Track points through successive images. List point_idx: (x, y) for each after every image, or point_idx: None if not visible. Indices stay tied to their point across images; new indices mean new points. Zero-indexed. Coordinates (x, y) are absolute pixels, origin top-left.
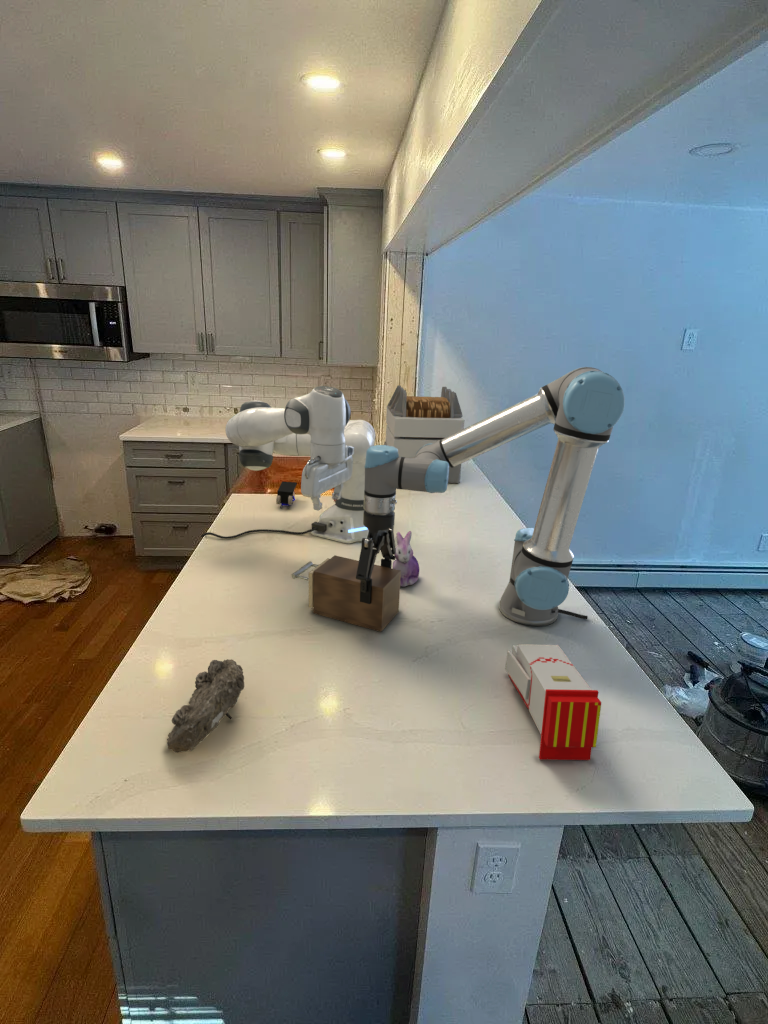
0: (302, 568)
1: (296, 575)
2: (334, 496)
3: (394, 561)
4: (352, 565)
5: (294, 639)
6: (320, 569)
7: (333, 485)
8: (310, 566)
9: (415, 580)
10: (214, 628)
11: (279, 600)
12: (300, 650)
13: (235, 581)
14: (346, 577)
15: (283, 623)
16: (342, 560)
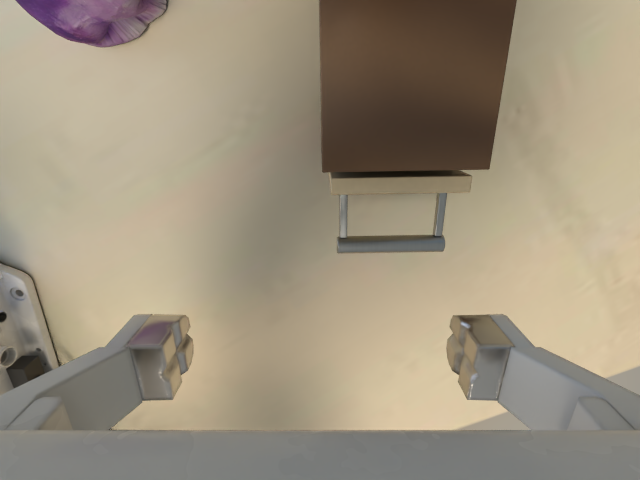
0: (394, 244)
1: (437, 236)
2: (177, 359)
3: (80, 26)
4: (378, 51)
5: (564, 122)
6: (466, 153)
7: (328, 465)
8: (353, 236)
9: None
10: (565, 297)
11: (408, 254)
12: (608, 80)
13: (372, 374)
14: (499, 12)
15: (503, 187)
16: (352, 118)
